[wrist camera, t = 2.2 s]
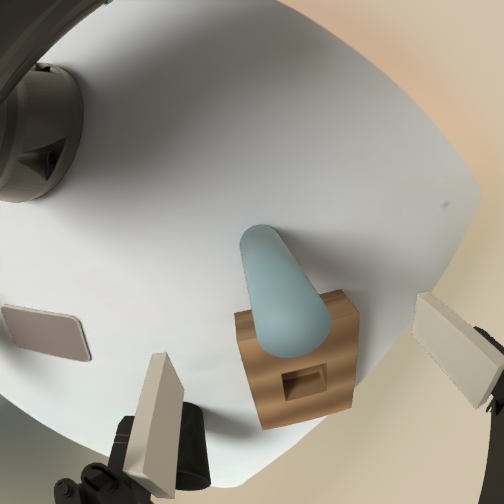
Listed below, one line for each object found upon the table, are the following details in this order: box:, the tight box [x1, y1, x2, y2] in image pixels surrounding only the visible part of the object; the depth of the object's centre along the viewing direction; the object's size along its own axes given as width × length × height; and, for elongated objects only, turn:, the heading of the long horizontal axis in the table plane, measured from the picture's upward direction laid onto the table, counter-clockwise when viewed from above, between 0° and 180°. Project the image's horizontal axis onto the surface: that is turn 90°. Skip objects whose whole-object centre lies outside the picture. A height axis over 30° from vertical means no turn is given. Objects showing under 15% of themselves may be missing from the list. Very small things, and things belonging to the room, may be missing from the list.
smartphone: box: [1, 304, 90, 362], centre depth 28 cm, size 7×1×15 cm
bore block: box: [234, 290, 359, 430], centre depth 30 cm, size 16×12×5 cm
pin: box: [240, 225, 331, 358], centre depth 20 cm, size 4×4×14 cm
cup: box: [175, 402, 211, 491], centre depth 29 cm, size 8×8×12 cm
